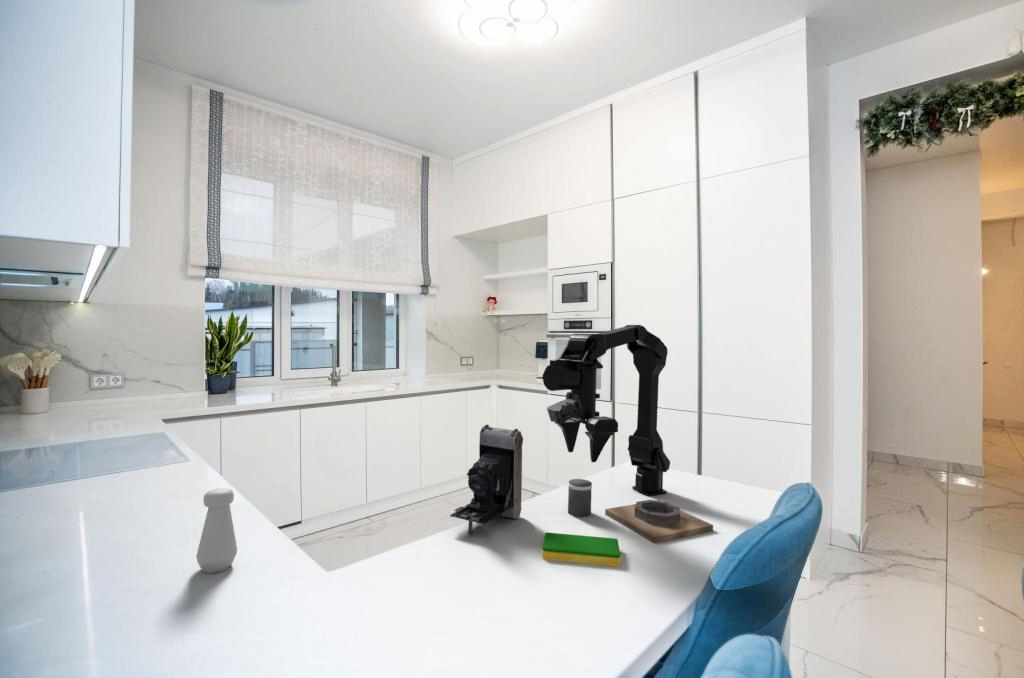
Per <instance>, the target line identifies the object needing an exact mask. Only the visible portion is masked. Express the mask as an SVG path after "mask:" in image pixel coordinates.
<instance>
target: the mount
mask: <svg viewBox="0 0 1024 678" xmlns="http://www.w3.org/2000/svg"><path fill="white" fill-rule="evenodd" d="M604 511H605V512H604V514H605V516H607V517H609V518H611V519H612V520H614V521H616V522H617V523H619V524H621V525H623V526H624V527H626V528H628V529H629V530H631V531H633V532H635V533H636V534H638V535H640V536H641V537H643V538H645V539H647V540H648V541H650V542H652V543H653V544H658V543H662V542H667V541H671V540H675V539H681V538H686V537H690V536H694V535H699V534H704V533H709V532H713V531H714V524H712V523H710V522H707V521H705V520H703V519H701V518H699V517H697V516H694V515H692V514H690V513H688V512H685V511H684V510H681V508H680V507H679V506H676V505H674V504H672V503H670V502H668V501H663V500H660V499H656V500H653V499H647V500H640V501H636V502H635V503H634V504H627V505H621V506H615V507H610V508H605V509H604Z"/></svg>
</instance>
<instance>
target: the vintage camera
mask: <svg viewBox="0 0 1024 678" xmlns="http://www.w3.org/2000/svg"><path fill="white" fill-rule="evenodd" d="M523 444H524V437H523V434H522V431H520V430H519V429H518V428H514V429H507V428H502V427H492V426H490V425H489V424H485V425H484V426H482V427H481V429H480V432H479V445H478V446H479V447H478V448H479V449H478V450H479V451H478V452H479V453H478V454H479V455H478V456H479V459H478V460H477V461H476V462H474V463H473V464H472V467H470V468H469V469H468V472H467V473H466V475H467V478H468V480H467V482H468V483H467V484H468V487H469V489H470V490H471V491H472V493H473V498H471V501H470V503H468V504H466V505H465V506H460V507H456V508H455V509H454V512H453V513H451V514H450V515H449V517H452V518H456V519H461V520H464V521H468V529H467V530H468V531H467V535H468V536H472V535H473V524H474V523H475V524H476V523H477V524H479V525H480V524H481V525H486V524H488V523H489V522H491V521H493V520H495V519H496V518H498V517H500V516H501V517H504V518H505V517H506V518H508V519H509V518H510V519H513V520H515V519H516V520H517V519H519V518H520V516H521V513H522V490H523V489H522V486H523V484H522V483H523V479H522V478H523Z"/></svg>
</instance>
